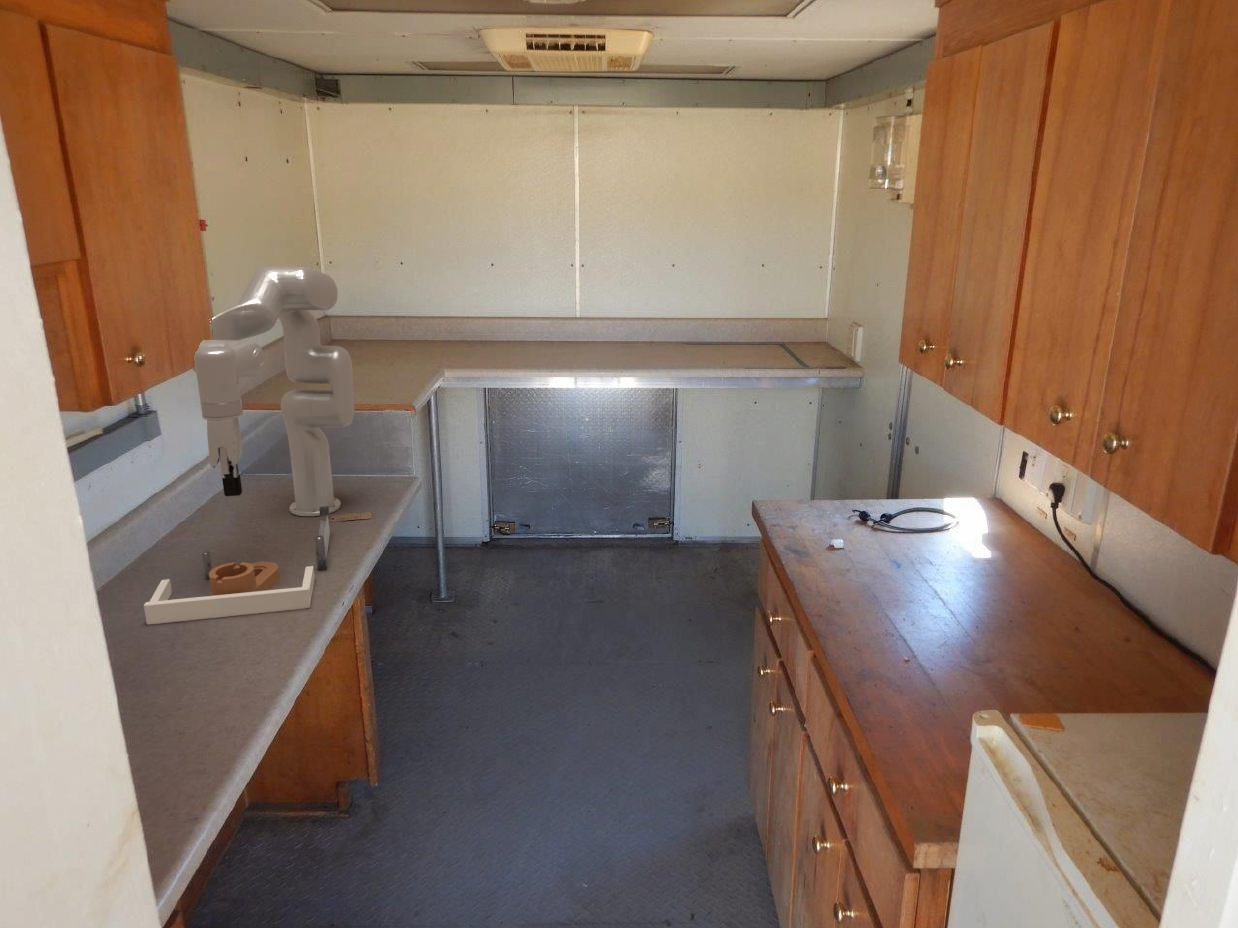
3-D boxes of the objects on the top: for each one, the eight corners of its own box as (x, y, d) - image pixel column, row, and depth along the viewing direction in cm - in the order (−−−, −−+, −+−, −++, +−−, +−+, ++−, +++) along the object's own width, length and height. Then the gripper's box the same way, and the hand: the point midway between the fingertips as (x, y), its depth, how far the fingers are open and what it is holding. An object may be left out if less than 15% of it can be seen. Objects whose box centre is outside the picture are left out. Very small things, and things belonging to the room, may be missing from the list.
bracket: (245, 612, 172) (241, 580, 170) (205, 610, 173) (200, 578, 171) (286, 574, 189) (282, 544, 187) (249, 572, 190) (245, 543, 188)
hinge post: (317, 567, 192) (314, 535, 190) (327, 566, 193) (324, 535, 190) (317, 571, 190) (313, 539, 188) (326, 570, 191) (323, 538, 189)
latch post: (206, 577, 187) (202, 551, 185) (214, 576, 187) (210, 550, 186) (204, 580, 186) (200, 554, 184) (212, 579, 186) (209, 553, 184)
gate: (327, 564, 194) (324, 532, 191) (318, 565, 193) (314, 533, 191) (331, 535, 210) (328, 505, 208) (323, 535, 210) (320, 506, 208)
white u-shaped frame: (163, 593, 180) (160, 575, 178) (314, 578, 187) (312, 561, 185) (147, 624, 167) (143, 605, 165) (309, 607, 174) (307, 589, 173)
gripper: (209, 401, 182) (220, 484, 187) (194, 419, 168) (206, 508, 174) (247, 399, 184) (257, 482, 189) (235, 417, 170) (247, 505, 175)
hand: (233, 494), depth 181 cm, fingers closed
